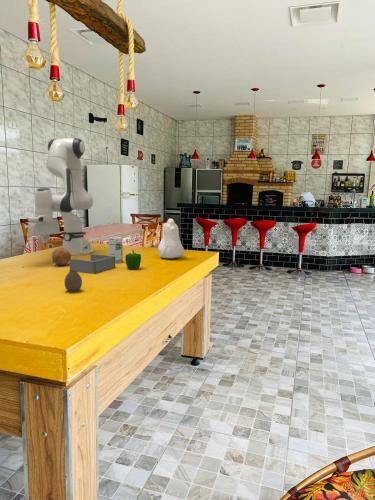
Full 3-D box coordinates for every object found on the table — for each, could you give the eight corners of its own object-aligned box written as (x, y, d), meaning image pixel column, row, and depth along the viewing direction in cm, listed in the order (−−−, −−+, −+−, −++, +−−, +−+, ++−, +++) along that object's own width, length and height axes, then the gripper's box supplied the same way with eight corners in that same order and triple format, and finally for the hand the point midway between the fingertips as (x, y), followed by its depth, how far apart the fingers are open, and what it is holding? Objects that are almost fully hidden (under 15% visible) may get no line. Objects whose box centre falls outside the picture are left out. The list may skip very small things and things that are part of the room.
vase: (75, 287, 164) (75, 267, 162) (85, 290, 159) (85, 269, 158) (61, 290, 158) (60, 269, 157) (71, 293, 154) (70, 272, 153)
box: (91, 264, 214) (91, 253, 213) (115, 267, 208) (115, 256, 207) (69, 270, 197) (69, 259, 196) (94, 273, 191) (94, 261, 190)
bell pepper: (138, 270, 201) (138, 251, 199) (123, 269, 202) (123, 250, 201) (143, 267, 209) (143, 249, 207) (128, 266, 211) (128, 248, 209)
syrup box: (115, 263, 219) (115, 238, 217) (108, 262, 222) (108, 237, 220) (122, 262, 223) (122, 237, 221) (115, 260, 227) (115, 236, 225)
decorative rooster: (184, 260, 231) (185, 219, 227) (158, 260, 230) (158, 219, 226) (181, 254, 256) (182, 216, 252) (157, 253, 254) (158, 216, 251)
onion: (74, 263, 215) (73, 246, 213) (66, 267, 205) (66, 248, 204) (57, 263, 216) (56, 245, 214) (49, 266, 206) (48, 248, 204)
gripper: (53, 217, 221) (53, 241, 223) (25, 218, 203) (26, 244, 204) (61, 217, 219) (62, 241, 221) (34, 218, 200) (35, 245, 202)
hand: (44, 243), depth 212 cm, fingers closed
